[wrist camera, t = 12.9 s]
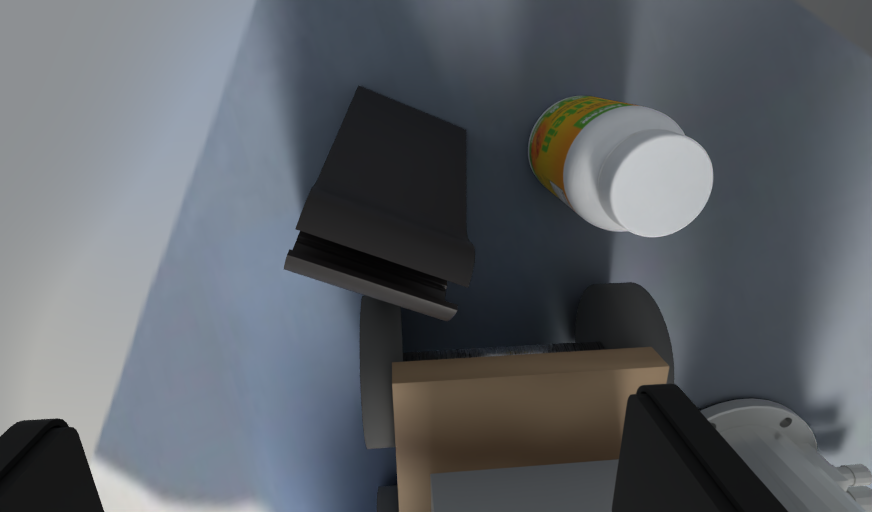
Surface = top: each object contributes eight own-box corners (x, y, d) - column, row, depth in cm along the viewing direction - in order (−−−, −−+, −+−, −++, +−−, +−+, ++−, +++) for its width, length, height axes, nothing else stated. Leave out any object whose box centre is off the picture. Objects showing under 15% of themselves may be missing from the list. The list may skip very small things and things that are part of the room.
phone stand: (359, 84, 26) (336, 103, 14) (466, 129, 27) (520, 178, 16) (305, 240, 28) (251, 356, 17) (404, 273, 30) (414, 403, 18)
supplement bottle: (578, 72, 26) (677, 79, 17) (640, 142, 28) (760, 181, 19) (505, 149, 27) (562, 193, 18) (569, 212, 29) (650, 281, 20)
